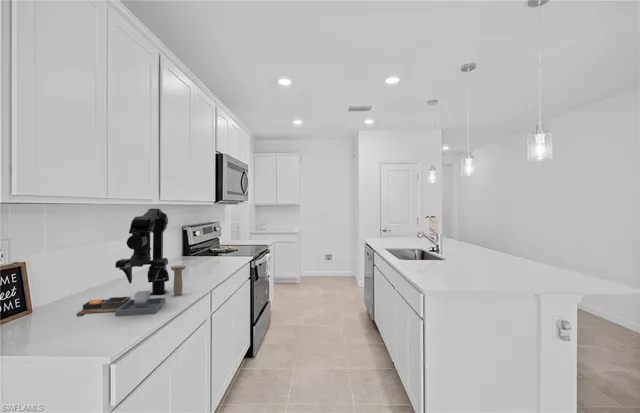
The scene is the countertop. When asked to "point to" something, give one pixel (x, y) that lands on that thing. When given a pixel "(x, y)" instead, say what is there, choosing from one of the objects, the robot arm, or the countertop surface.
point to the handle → (178, 279)
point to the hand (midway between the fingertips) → (142, 282)
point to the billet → (142, 299)
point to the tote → (129, 308)
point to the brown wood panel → (104, 306)
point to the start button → (95, 302)
